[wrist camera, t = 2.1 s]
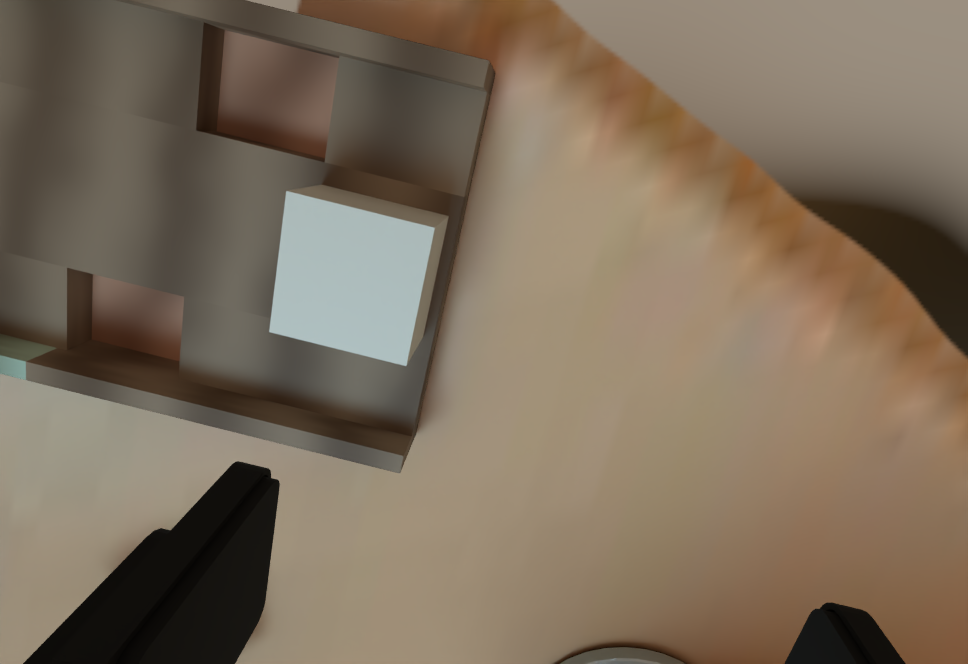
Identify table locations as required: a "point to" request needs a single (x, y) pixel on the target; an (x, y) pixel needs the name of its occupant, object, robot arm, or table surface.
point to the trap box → (214, 205)
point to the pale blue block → (355, 272)
